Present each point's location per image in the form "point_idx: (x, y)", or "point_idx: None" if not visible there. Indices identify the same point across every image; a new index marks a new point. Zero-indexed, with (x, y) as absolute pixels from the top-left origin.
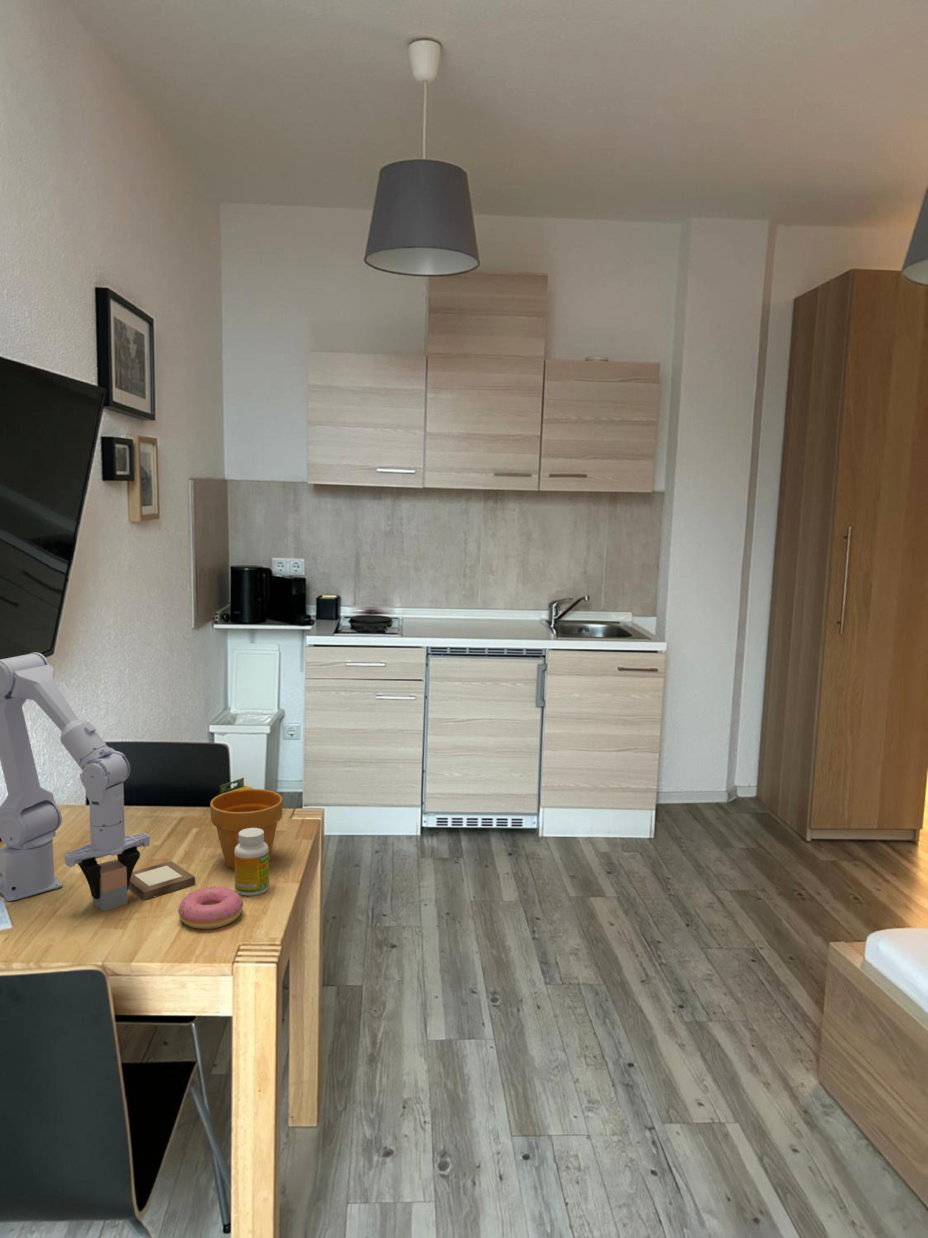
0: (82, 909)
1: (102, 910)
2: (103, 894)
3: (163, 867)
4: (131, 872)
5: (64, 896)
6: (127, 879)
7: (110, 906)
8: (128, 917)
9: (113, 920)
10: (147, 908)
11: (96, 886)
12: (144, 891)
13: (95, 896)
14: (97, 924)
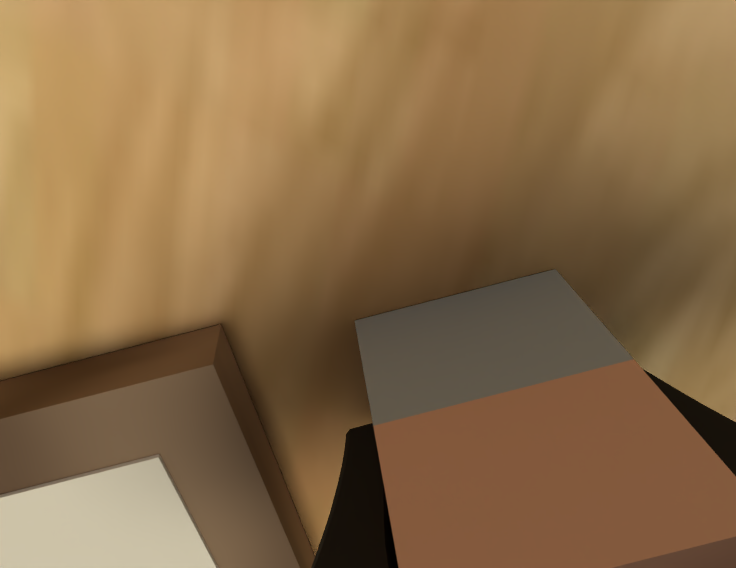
0: (661, 357)
1: (556, 277)
2: (607, 351)
3: None
4: (322, 562)
5: None
6: (363, 497)
7: (499, 295)
8: (397, 50)
9: (529, 54)
10: (206, 162)
11: (708, 427)
12: (206, 379)
13: (649, 373)
14: (668, 40)
